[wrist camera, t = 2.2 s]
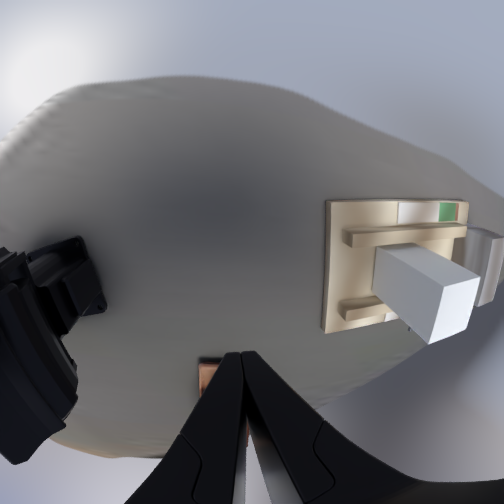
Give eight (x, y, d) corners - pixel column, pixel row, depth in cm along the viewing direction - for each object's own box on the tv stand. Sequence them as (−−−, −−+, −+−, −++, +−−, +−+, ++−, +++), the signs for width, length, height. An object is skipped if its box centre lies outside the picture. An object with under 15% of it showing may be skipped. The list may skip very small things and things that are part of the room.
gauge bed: (321, 327, 23) (347, 370, 17) (325, 200, 20) (366, 215, 14) (452, 296, 25) (486, 320, 19) (467, 200, 21) (509, 212, 16)
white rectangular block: (366, 328, 22) (413, 385, 15) (376, 246, 20) (443, 286, 13) (400, 320, 23) (450, 368, 15) (413, 242, 20) (480, 276, 13)
